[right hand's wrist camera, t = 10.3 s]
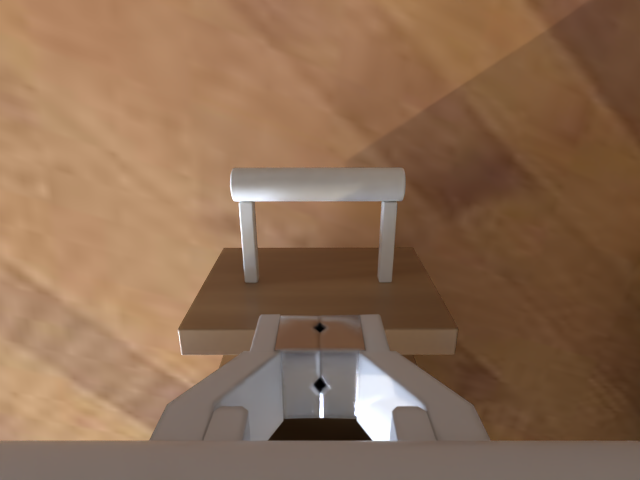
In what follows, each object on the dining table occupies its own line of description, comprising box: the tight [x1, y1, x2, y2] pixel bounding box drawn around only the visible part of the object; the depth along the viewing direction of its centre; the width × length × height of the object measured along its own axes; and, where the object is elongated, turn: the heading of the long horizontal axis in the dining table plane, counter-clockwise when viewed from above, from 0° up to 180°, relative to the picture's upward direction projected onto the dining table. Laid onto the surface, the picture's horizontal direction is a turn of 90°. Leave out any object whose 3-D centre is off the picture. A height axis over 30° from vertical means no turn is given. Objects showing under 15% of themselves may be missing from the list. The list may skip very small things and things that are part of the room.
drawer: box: [178, 168, 458, 441], centre depth 22 cm, size 26×10×8 cm, turn 0°
